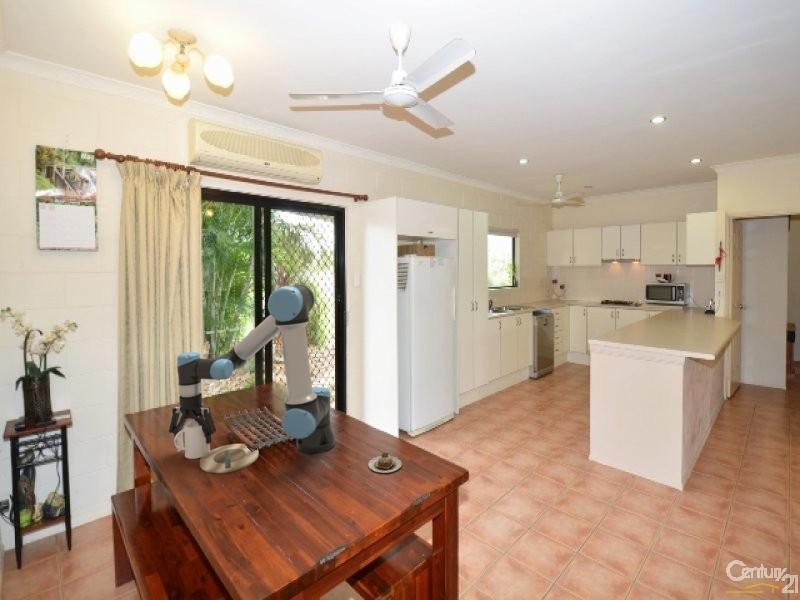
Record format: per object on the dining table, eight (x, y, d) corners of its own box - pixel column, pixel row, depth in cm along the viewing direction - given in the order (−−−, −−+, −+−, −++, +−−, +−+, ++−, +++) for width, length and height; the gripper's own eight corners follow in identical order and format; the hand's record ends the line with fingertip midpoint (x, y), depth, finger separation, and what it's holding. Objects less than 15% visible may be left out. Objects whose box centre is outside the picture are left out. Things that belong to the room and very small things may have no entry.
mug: (175, 463, 142) (174, 431, 141) (174, 454, 150) (172, 423, 148) (211, 454, 149) (210, 424, 148) (208, 446, 156) (206, 417, 155)
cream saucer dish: (267, 448, 155) (267, 430, 154) (242, 474, 135) (241, 454, 134) (219, 445, 157) (218, 428, 156) (187, 471, 137) (186, 451, 136)
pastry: (407, 464, 143) (407, 452, 143) (388, 479, 133) (388, 466, 133) (381, 455, 150) (381, 443, 150) (361, 468, 140) (361, 456, 140)
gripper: (224, 391, 150) (227, 447, 152) (169, 389, 152) (172, 445, 154) (213, 398, 142) (216, 456, 144) (155, 396, 145) (158, 454, 147)
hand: (193, 450), depth 149 cm, fingers open, 10 cm apart
